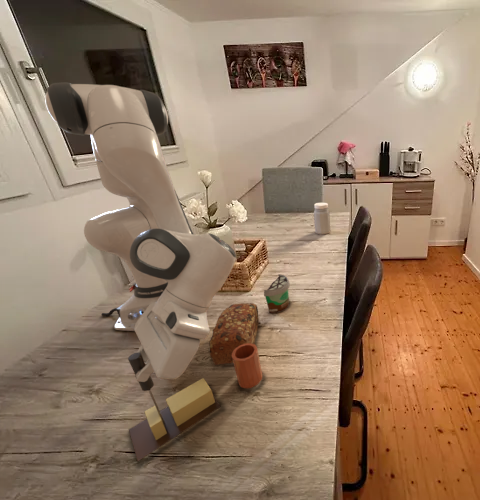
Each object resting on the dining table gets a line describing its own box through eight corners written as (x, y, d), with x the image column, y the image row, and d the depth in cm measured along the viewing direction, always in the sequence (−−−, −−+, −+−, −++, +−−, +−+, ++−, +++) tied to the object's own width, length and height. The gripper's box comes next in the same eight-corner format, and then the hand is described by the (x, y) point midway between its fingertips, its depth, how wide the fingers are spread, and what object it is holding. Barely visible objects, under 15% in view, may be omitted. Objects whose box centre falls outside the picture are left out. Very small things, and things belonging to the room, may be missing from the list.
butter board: (207, 387, 70) (206, 383, 70) (222, 410, 64) (221, 406, 64) (130, 433, 60) (128, 429, 59) (139, 465, 54) (137, 461, 54)
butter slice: (160, 417, 62) (155, 405, 60) (167, 433, 59) (161, 420, 57) (150, 424, 60) (144, 411, 59) (156, 440, 57) (150, 427, 56)
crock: (236, 392, 69) (228, 361, 65) (242, 373, 74) (235, 344, 70) (260, 390, 69) (254, 359, 65) (264, 371, 74) (259, 342, 70)
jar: (317, 229, 180) (315, 201, 173) (332, 229, 178) (330, 202, 171) (313, 234, 171) (310, 205, 164) (328, 235, 169) (327, 206, 162)
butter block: (207, 389, 68) (203, 377, 67) (215, 402, 65) (211, 390, 63) (170, 411, 63) (165, 399, 61) (177, 426, 60) (172, 413, 58)
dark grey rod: (167, 415, 61) (139, 350, 54) (170, 422, 60) (142, 356, 52) (156, 421, 60) (126, 355, 53) (159, 429, 58) (129, 362, 51)
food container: (284, 317, 96) (280, 292, 92) (267, 315, 97) (263, 290, 93) (297, 297, 107) (294, 274, 103) (282, 296, 108) (279, 273, 104)
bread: (252, 364, 77) (246, 335, 73) (211, 369, 76) (202, 340, 72) (261, 322, 94) (256, 296, 90) (228, 325, 92) (222, 300, 89)
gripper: (150, 286, 61) (110, 345, 58) (181, 328, 47) (130, 407, 45) (178, 296, 65) (142, 350, 63) (213, 336, 52) (169, 407, 50)
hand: (138, 374), depth 54 cm, fingers closed on dark grey rod, 2 cm apart
